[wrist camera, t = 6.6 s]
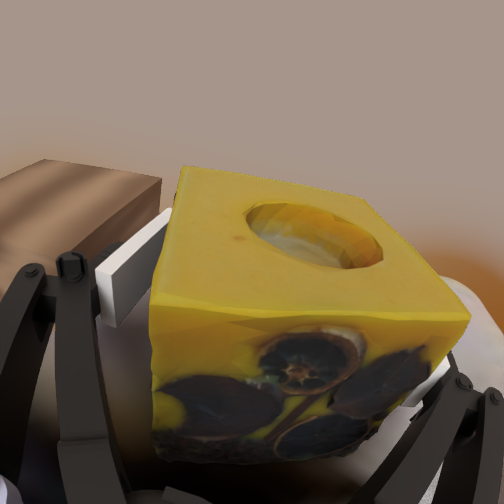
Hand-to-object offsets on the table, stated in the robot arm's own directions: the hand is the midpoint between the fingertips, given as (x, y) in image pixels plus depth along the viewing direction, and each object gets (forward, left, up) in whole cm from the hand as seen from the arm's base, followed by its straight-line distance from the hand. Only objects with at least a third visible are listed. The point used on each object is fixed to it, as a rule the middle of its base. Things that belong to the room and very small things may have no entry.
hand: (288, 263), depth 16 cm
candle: (0, -3, -6) cm, 7 cm away
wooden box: (-18, +2, -6) cm, 19 cm away
